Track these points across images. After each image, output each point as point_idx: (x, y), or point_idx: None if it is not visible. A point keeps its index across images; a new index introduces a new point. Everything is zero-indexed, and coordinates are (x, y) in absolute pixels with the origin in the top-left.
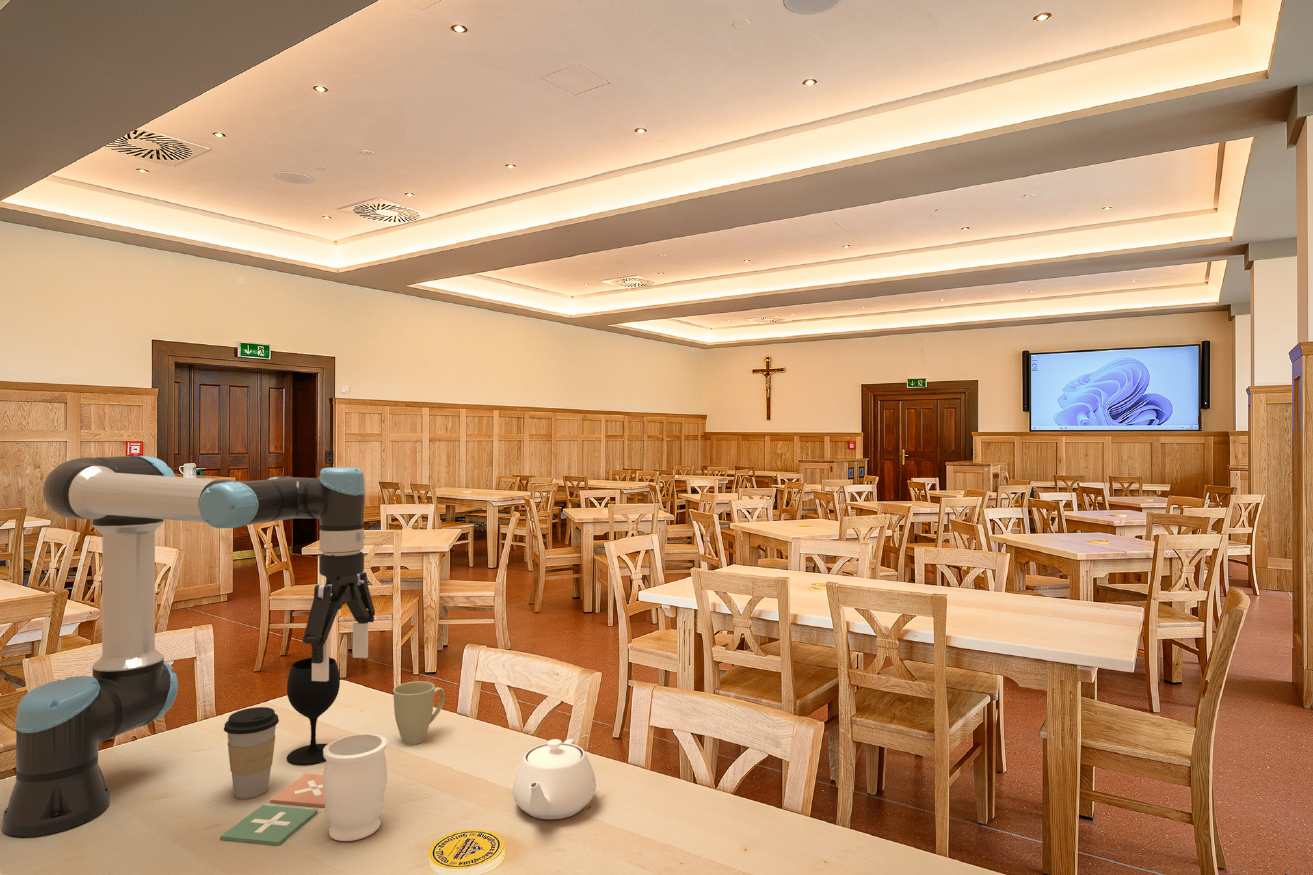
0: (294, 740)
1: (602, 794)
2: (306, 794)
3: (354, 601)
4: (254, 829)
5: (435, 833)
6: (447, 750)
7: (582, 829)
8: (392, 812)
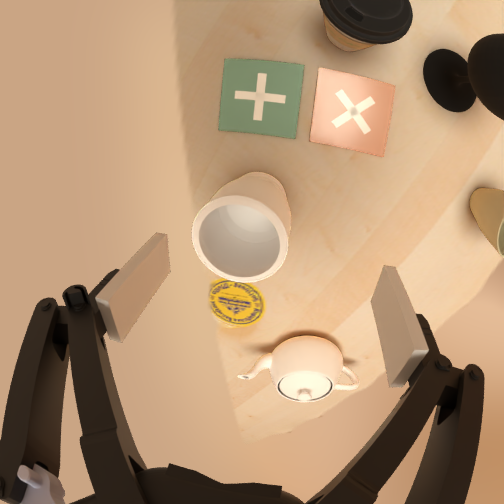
0: None
1: None
2: (335, 107)
3: (327, 485)
4: (242, 86)
5: None
6: (446, 247)
7: None
8: (298, 225)
